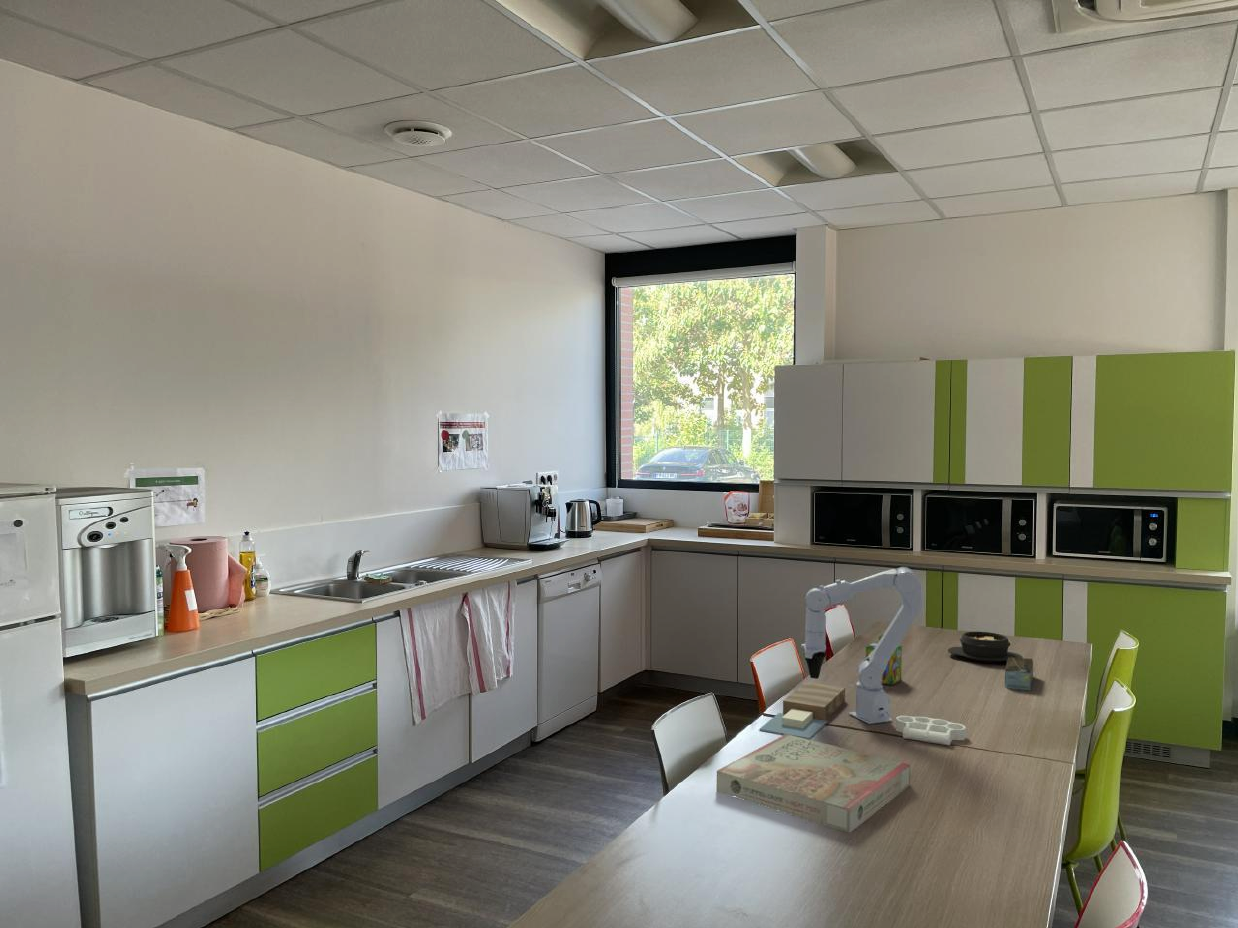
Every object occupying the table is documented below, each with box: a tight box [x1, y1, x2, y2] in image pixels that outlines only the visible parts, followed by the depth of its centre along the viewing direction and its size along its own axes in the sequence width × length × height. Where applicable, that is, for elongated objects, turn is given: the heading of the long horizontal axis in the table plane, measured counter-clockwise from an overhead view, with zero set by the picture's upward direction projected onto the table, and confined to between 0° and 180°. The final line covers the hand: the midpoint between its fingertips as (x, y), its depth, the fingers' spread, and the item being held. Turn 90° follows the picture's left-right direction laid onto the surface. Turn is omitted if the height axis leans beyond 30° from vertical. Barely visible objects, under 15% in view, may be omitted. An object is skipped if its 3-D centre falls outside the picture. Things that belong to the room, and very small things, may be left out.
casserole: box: [947, 631, 1024, 664], centre depth 323 cm, size 25×19×8 cm
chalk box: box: [865, 633, 903, 686], centre depth 294 cm, size 9×9×15 cm
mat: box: [758, 712, 828, 740], centre depth 248 cm, size 16×14×1 cm
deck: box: [782, 681, 846, 721], centre depth 265 cm, size 22×12×4 cm, turn 151°
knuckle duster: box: [895, 715, 967, 746], centre depth 242 cm, size 3×18×15 cm
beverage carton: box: [1004, 657, 1034, 692], centre depth 294 cm, size 8×19×7 cm, turn 153°
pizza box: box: [716, 734, 911, 834], centre depth 205 cm, size 32×5×32 cm
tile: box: [782, 709, 813, 728], centre depth 251 cm, size 9×6×2 cm, turn 151°
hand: (814, 677), depth 259 cm, fingers closed
